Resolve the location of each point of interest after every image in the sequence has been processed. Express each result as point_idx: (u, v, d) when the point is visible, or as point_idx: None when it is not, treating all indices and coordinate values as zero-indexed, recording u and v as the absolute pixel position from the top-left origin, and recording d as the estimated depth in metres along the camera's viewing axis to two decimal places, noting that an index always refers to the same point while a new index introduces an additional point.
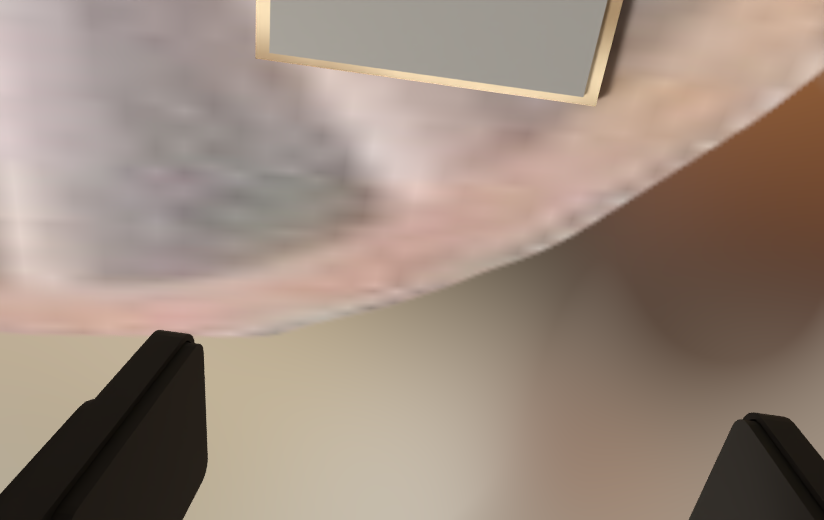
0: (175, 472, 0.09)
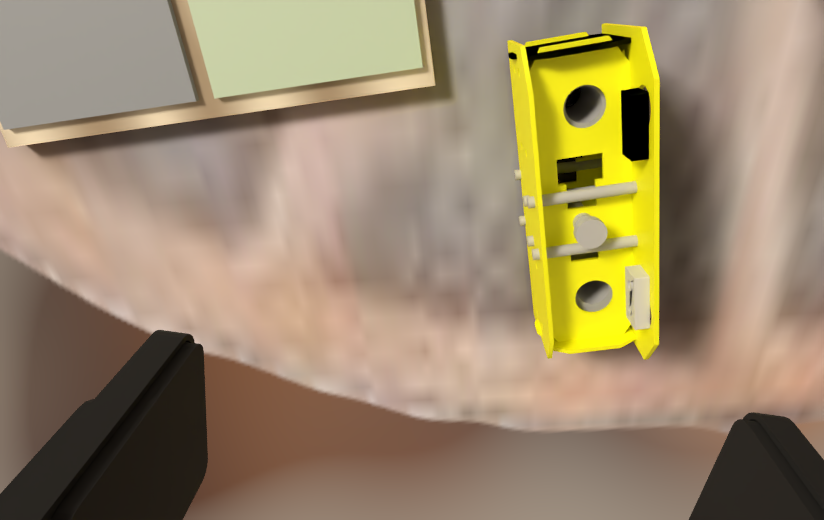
0: (175, 472, 0.09)
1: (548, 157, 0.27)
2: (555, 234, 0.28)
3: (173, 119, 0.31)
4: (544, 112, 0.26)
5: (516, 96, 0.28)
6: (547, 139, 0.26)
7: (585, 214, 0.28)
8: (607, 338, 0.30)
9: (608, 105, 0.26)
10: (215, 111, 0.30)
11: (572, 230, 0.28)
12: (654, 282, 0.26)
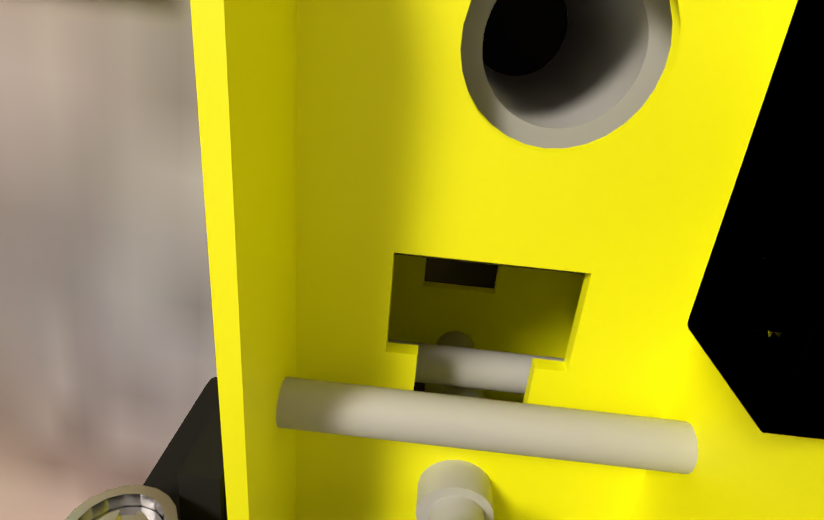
0: None
1: (361, 234, 0.06)
2: (351, 500, 0.08)
3: None
4: (369, 21, 0.05)
5: None
6: (367, 156, 0.06)
7: (466, 475, 0.07)
8: None
9: (679, 69, 0.05)
10: None
11: (412, 503, 0.08)
12: None
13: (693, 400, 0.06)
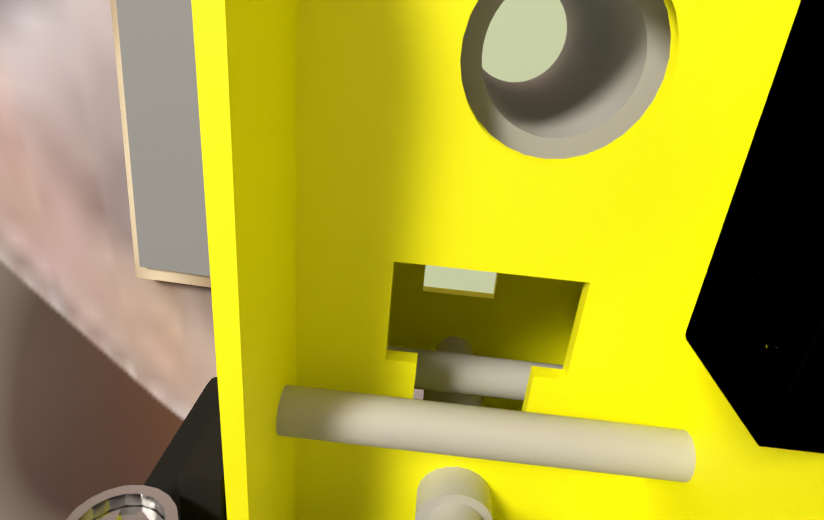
0: None
1: (361, 243, 0.06)
2: (350, 506, 0.08)
3: None
4: (370, 33, 0.05)
5: None
6: (367, 166, 0.06)
7: (465, 483, 0.07)
8: None
9: (677, 81, 0.05)
10: None
11: (411, 509, 0.08)
12: None
13: (691, 409, 0.06)
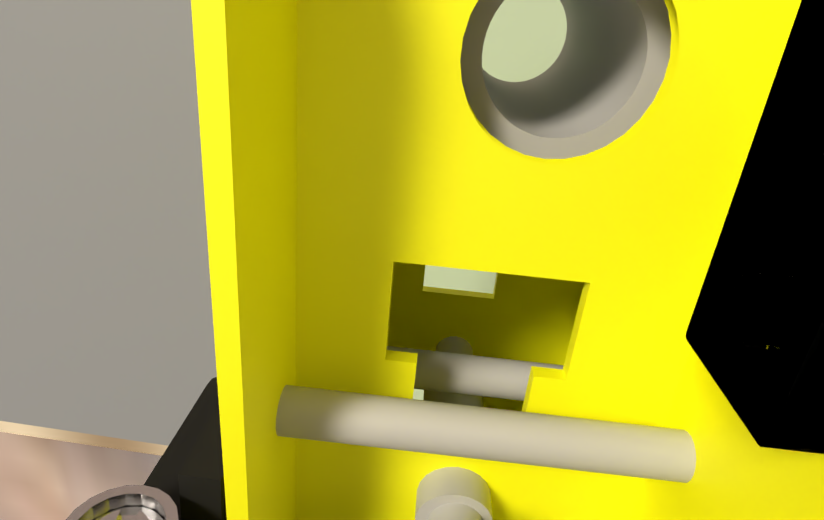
0: None
1: (361, 243, 0.06)
2: (350, 506, 0.08)
3: None
4: (370, 33, 0.05)
5: None
6: (367, 166, 0.06)
7: (465, 483, 0.07)
8: None
9: (677, 81, 0.05)
10: None
11: (411, 510, 0.08)
12: None
13: (691, 409, 0.06)
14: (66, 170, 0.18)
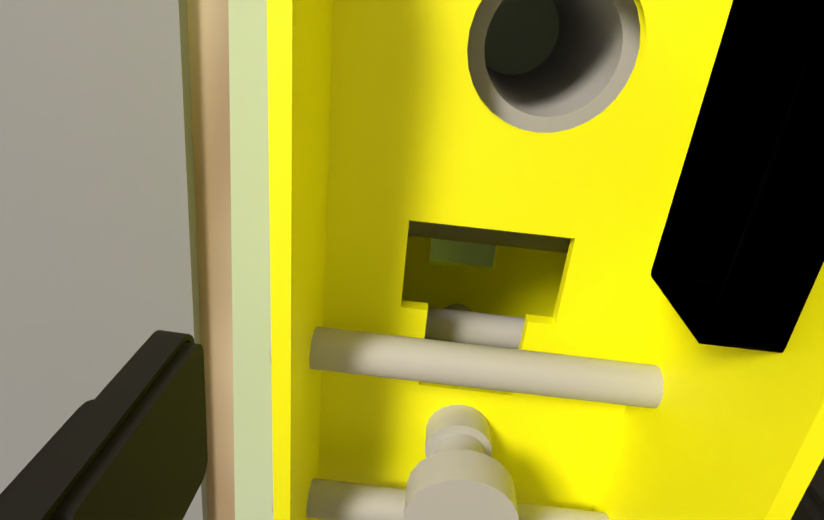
0: (175, 472, 0.09)
1: (382, 204, 0.07)
2: (367, 442, 0.09)
3: None
4: (393, 26, 0.06)
5: None
6: (388, 138, 0.07)
7: (468, 417, 0.08)
8: None
9: (645, 67, 0.06)
10: None
11: (421, 444, 0.09)
12: None
13: (660, 346, 0.07)
14: None
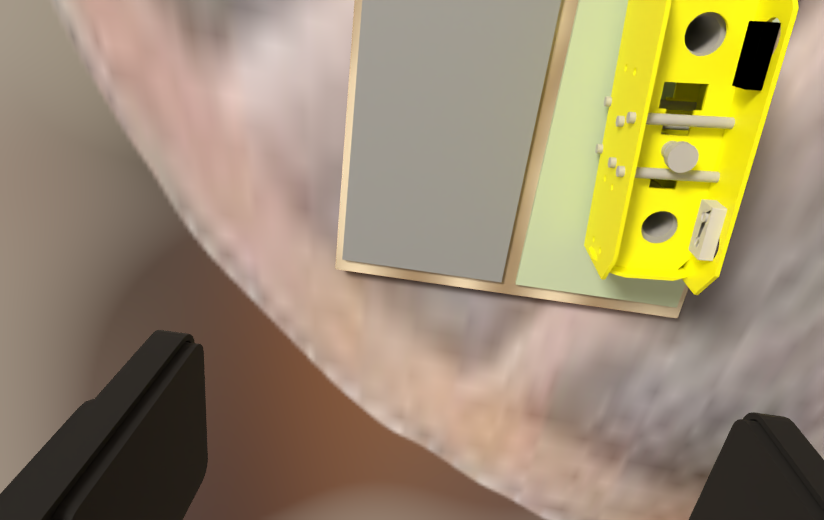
0: (175, 472, 0.09)
1: (657, 77, 0.28)
2: (642, 157, 0.29)
3: (474, 286, 0.40)
4: (667, 31, 0.27)
5: (634, 17, 0.29)
6: (662, 59, 0.27)
7: (676, 142, 0.29)
8: (660, 271, 0.32)
9: (728, 37, 0.27)
10: (509, 290, 0.39)
11: (659, 156, 0.29)
12: (733, 213, 0.27)
13: (733, 111, 0.28)
14: (435, 111, 0.34)
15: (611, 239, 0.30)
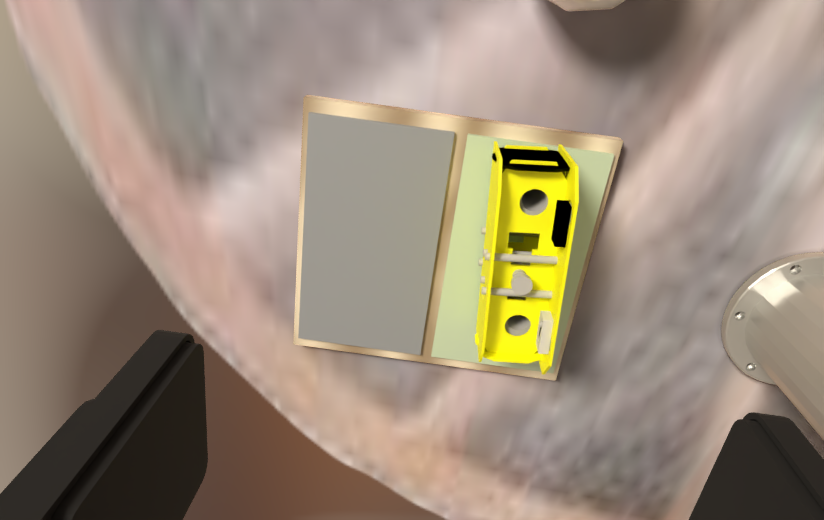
0: (175, 472, 0.09)
1: (504, 229, 0.40)
2: (499, 279, 0.41)
3: (400, 357, 0.52)
4: (507, 200, 0.39)
5: (492, 181, 0.41)
6: (505, 217, 0.39)
7: (521, 270, 0.41)
8: (521, 355, 0.44)
9: (549, 205, 0.39)
10: (427, 359, 0.51)
11: (511, 279, 0.41)
12: (555, 325, 0.39)
13: (557, 252, 0.40)
14: (363, 235, 0.46)
15: (481, 335, 0.42)
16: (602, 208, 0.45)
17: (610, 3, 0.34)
